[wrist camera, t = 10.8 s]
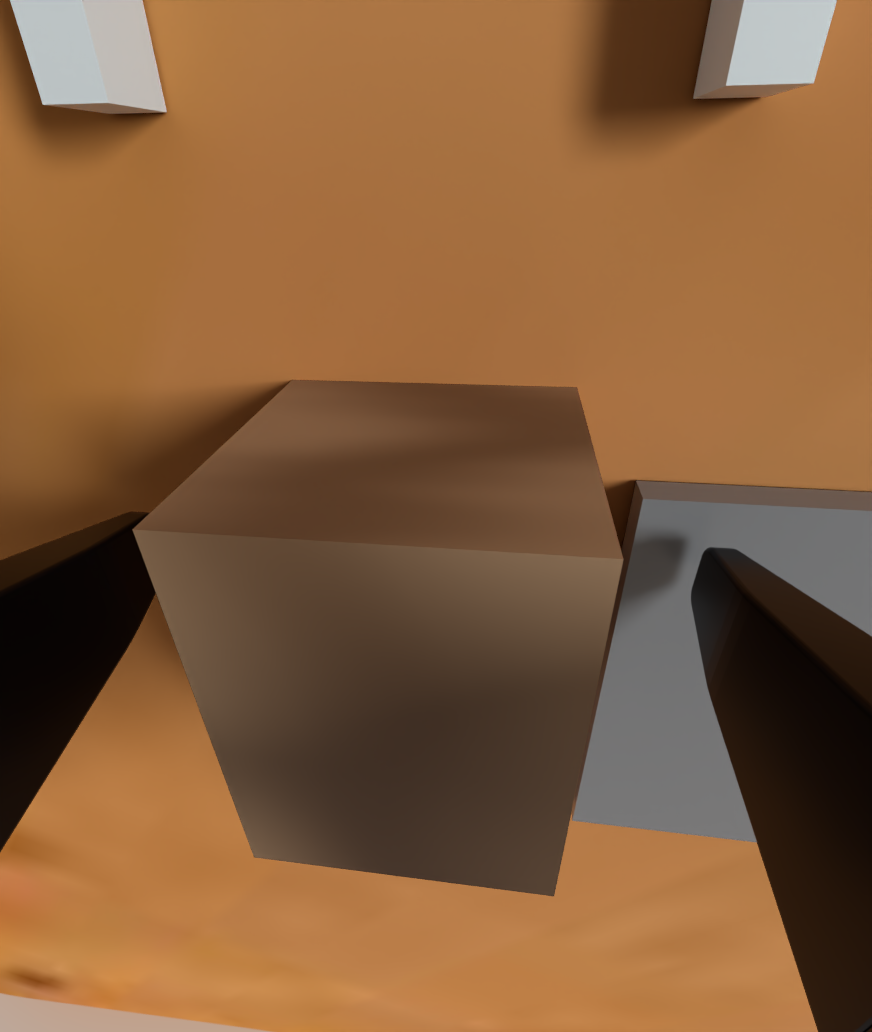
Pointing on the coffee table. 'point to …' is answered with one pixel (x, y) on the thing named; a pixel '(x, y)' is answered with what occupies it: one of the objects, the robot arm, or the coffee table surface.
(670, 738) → the slate coaster
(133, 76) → the acrylic channel
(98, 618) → the robot arm
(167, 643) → the coffee table surface
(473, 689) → the walnut block
